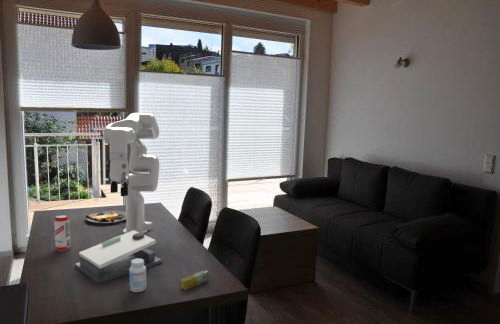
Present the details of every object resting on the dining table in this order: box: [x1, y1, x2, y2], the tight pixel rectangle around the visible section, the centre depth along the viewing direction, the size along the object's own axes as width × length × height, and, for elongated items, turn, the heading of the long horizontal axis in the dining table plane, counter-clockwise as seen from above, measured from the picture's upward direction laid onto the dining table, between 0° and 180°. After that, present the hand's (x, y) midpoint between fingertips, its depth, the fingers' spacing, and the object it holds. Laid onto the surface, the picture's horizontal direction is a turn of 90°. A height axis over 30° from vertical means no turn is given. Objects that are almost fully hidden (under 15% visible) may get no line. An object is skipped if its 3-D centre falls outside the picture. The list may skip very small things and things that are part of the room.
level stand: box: [74, 247, 163, 284], centre depth 174 cm, size 29×21×5 cm
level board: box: [78, 230, 157, 268], centre depth 173 cm, size 26×18×3 cm
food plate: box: [85, 210, 126, 224], centre depth 238 cm, size 25×23×4 cm
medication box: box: [180, 269, 209, 291], centre depth 158 cm, size 12×3×4 cm, turn 139°
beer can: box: [53, 214, 71, 252], centre depth 189 cm, size 6×6×16 cm
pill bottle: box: [128, 258, 147, 293], centre depth 152 cm, size 6×6×11 cm
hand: (119, 194), depth 183 cm, fingers open, 9 cm apart
